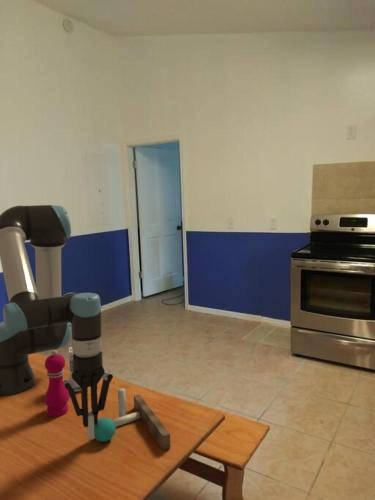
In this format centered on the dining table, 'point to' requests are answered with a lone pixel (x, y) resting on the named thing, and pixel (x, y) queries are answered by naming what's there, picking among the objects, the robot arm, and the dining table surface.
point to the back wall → (152, 422)
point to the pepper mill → (56, 386)
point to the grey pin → (122, 402)
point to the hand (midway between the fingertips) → (90, 436)
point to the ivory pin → (126, 419)
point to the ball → (104, 429)
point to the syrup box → (76, 386)
